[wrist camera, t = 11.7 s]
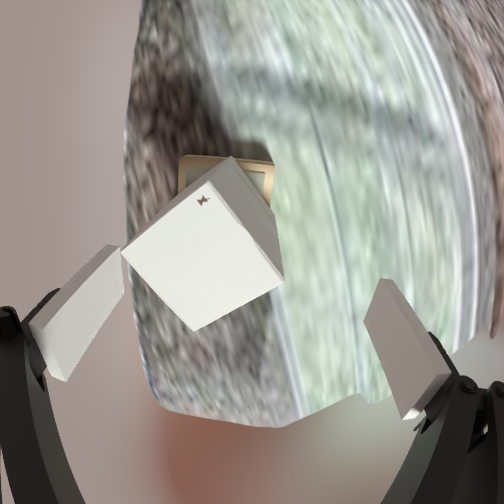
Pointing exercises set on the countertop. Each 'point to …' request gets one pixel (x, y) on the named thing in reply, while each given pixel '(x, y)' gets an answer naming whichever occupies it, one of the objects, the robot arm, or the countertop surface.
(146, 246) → the supplement box
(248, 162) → the tan picture frame
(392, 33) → the countertop surface
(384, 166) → the countertop surface
